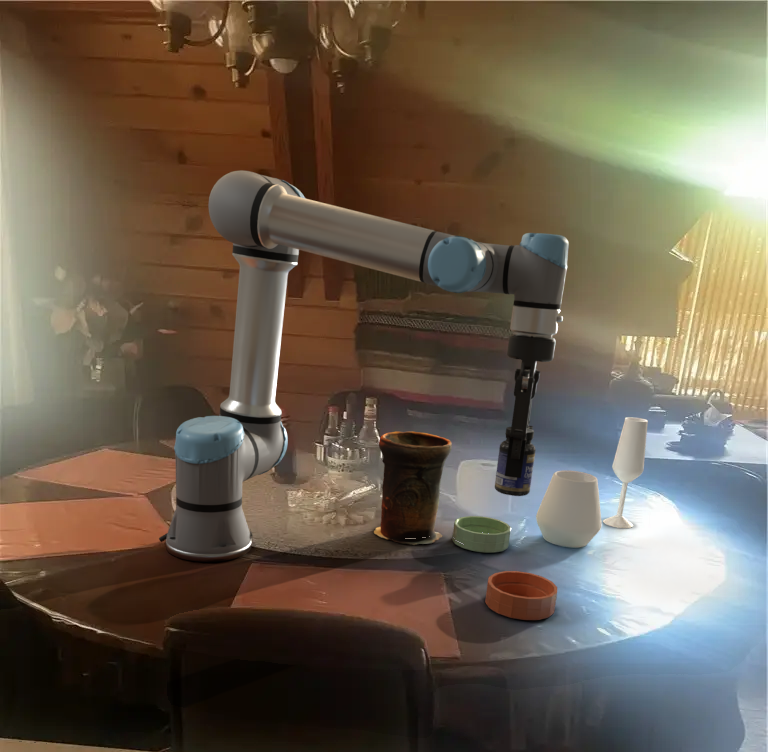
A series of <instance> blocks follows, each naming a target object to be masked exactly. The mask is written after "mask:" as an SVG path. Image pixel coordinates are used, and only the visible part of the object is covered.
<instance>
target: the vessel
mask: <svg viewBox="0 0 768 752" xmlns="http://www.w3.org/2000/svg"><path fill="white" fill-rule="evenodd" d="M452 446H453V444H452V441H451V440H450V439H448V438H446V437H442V436H439V435H436V434H432V433H427V432H420V431H419V432H418V431H392V432H391V431H390V432H386V433H384V434H382V435H381V436H380V438H379V441H378V448H379V450H380V452H381V454H382V463H383V479H382V487H381V488H382V489H381V490H382V493H381V494H382V496H381V497H382V498H381V506H380V507H381V513H380V515H381V516H380V526H378V527H375V530H373V533H374V534H375V535H376V536H378V537H379V538H381V539H385V540H390V541H393V542H394V543H399V544H407V545H413V546H415V545H419V544H422V545H424V544H427V545H429V544H432V543H435V542H436V541H439V540H440V539H441V538H442V537H443V535H442V534H441V532H438V531H435V526H436V521H437V515H438V510H439V504H440V496H441V495H440V494H441V483H442V474H443V471H444V468H445V467H444V466H445V464H446V460H447V459H448V457H449V456H450V454H451V452H452ZM429 536H430V537H429ZM422 537H426V538H422ZM405 538H416V539H405Z"/></svg>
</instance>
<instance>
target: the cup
mask: <svg viewBox="0 0 768 752" xmlns="http://www.w3.org/2000/svg"><path fill="white" fill-rule="evenodd" d="M535 519H536V524H537V526H538V528H539V530H540V533H541V535H542V537H543V540H545V541H546V542H547V543H550V544H553V545H554V546H555V545H556V546H559V547H564V548H584V547H586V546H587V545H589V543H590V542H591V541H592V540H593V539H594V538H595V537H596V535H598V533H599V532H600V531H601V529H602V527H603V526H602V522H603V521H602V512H601V501H600V490H599V480H598V477H597V476H595V475H593V474H590V473H588V472H587V473H586V472H583V471H578V470H569V469H567V470H565V469H564V470H557V471H555V472H553V473H552V477H551V478H550V481H549V484H548V485H547V488H546V491H545V493H544V495H543V497H542V499H541V502H540V505H539V507H538V510H537V512H536V515H535Z"/></svg>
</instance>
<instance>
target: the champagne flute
mask: <svg viewBox="0 0 768 752" xmlns="http://www.w3.org/2000/svg"><path fill="white" fill-rule="evenodd" d="M623 421H624V422H623V425H622V429H621V433H620V436H619V440H618V442H617V443H618V444H617V448H616V451H615V454H614V458H613V462H612V465H611V466H612V467H611V468H612V471H613V473H614V475H615V476H616V477H617V479H618V480H619V481H621V483H622V484H621V487H620V495H619V500H618V506H617V510H616V511H617V512H616V514H615V515H612V516H610V517H607V518H604V519H603V520H602V522H603V523H604V524H605V525H606V526H609V527H612V528H618V529H631V528H633V527H634V524H633V523H632V522H631V521H629V519H627V518H626V517H624V515H623V512H624V507H625V502H626V496H627V490H628V484H629V483H632V482H634V481H635V480H636V479H638V478H639V477H640V476H641V475H642V474H643V473H644V470H645V469H644V467H645V459H646V458H645V457H646V446H647V445H646V444H647V435H648V434H647V433H648V424H649V423H648V422H649V421H648V420H647V419H645V418H641V417H632V416H627V417H625V418H624V420H623Z"/></svg>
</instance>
